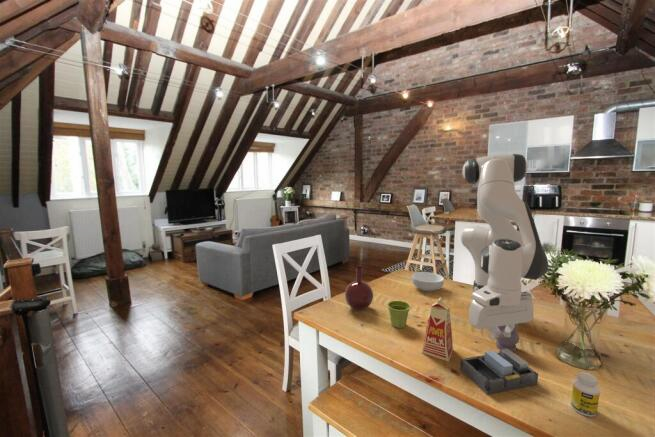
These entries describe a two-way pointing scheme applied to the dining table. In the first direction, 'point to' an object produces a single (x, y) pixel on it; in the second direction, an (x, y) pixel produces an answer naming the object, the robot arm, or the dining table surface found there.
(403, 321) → the plant pot
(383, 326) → the dining table surface
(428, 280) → the cereal bowl
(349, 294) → the round-bottom flask
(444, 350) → the milk carton
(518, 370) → the tray
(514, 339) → the purple lumpy figurine
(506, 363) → the light blue block
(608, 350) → the dining table surface
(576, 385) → the supplement bottle
